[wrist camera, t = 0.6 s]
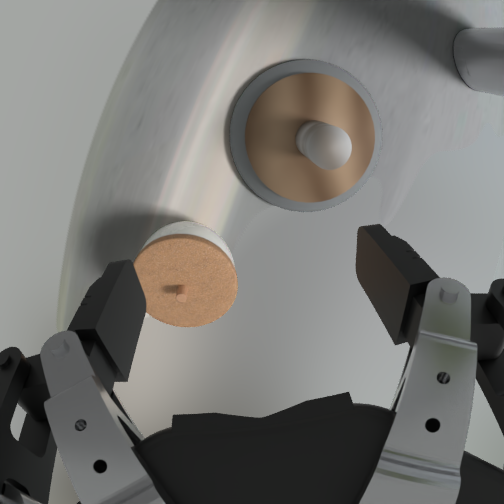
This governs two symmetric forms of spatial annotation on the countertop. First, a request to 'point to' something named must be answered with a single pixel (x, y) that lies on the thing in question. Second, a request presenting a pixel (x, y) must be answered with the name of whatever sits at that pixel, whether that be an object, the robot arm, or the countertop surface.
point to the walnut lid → (309, 137)
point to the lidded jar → (186, 275)
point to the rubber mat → (244, 109)
